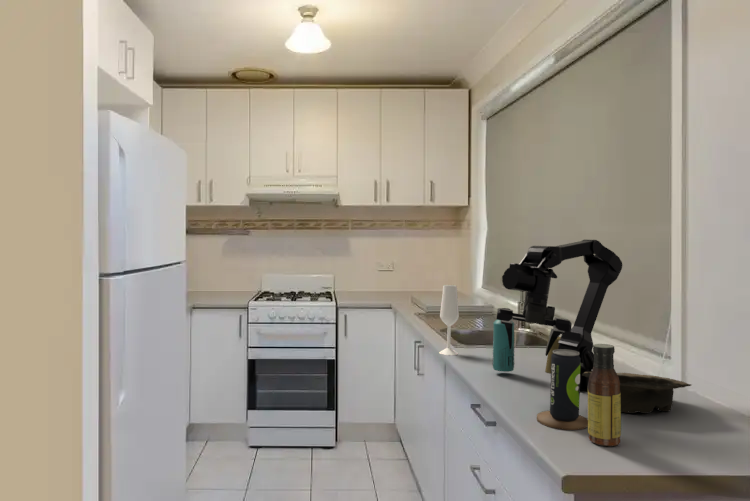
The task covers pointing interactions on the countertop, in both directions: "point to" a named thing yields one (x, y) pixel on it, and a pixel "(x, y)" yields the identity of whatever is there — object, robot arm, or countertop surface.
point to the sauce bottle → (604, 398)
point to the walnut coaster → (561, 422)
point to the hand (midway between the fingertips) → (528, 352)
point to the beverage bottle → (502, 348)
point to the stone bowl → (645, 392)
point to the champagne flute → (449, 313)
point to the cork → (554, 347)
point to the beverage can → (565, 385)
